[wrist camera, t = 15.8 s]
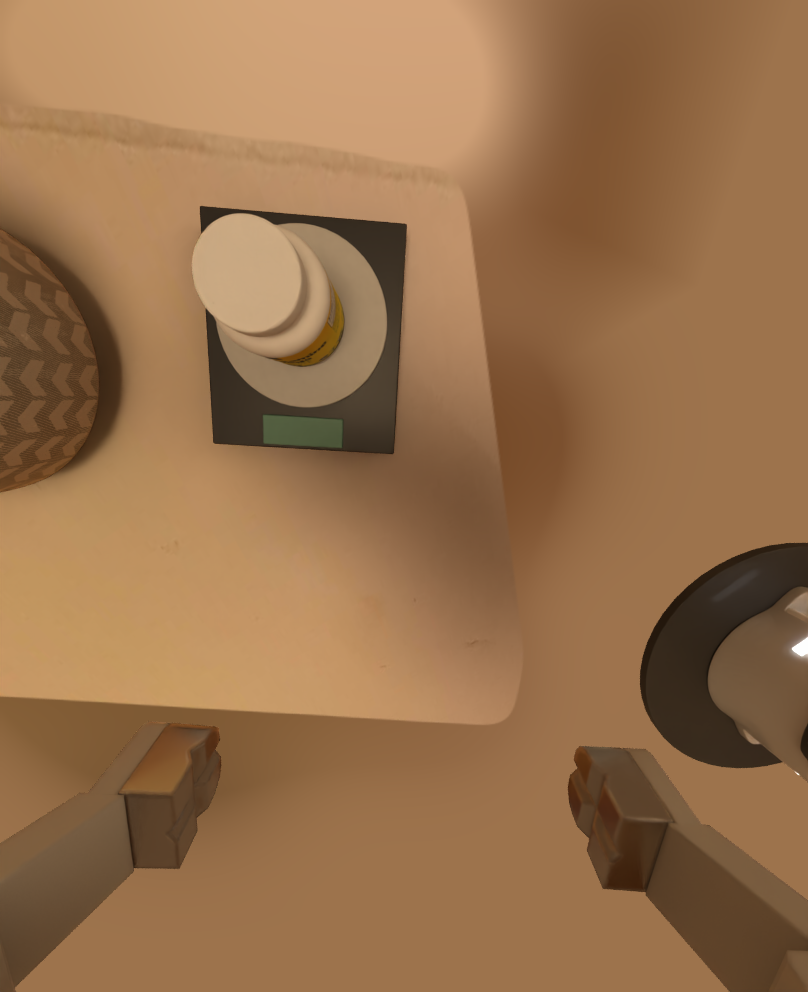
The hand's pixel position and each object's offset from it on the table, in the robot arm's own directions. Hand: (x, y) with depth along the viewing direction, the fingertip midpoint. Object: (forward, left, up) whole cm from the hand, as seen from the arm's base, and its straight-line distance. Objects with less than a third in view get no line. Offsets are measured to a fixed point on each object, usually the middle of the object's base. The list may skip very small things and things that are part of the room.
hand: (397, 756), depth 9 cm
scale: (+7, -12, -26) cm, 29 cm away
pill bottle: (+7, -13, -23) cm, 27 cm away
